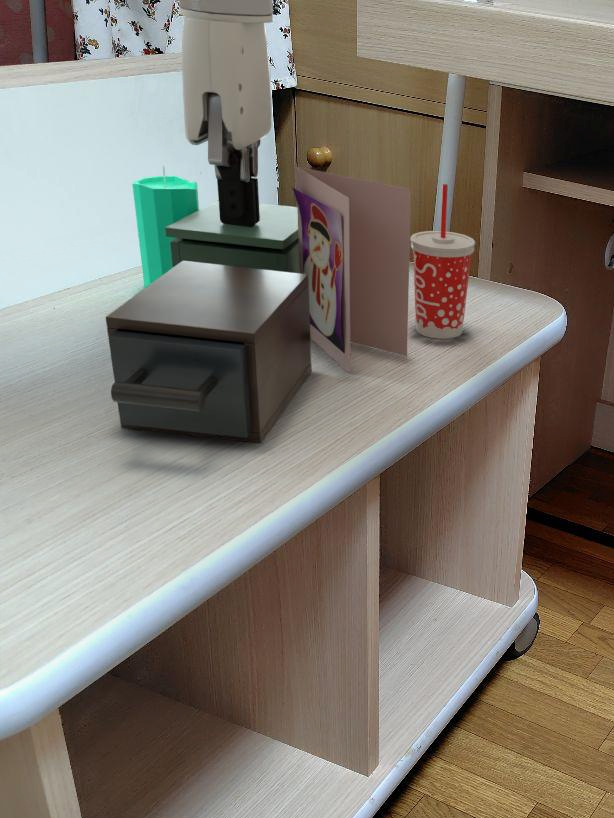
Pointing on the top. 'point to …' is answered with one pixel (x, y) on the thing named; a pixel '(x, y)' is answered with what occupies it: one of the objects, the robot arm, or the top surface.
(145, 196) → the candle
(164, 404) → the drawer
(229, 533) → the top surface
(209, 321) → the cabinet
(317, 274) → the greeting card
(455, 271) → the beverage cup
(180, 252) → the chest
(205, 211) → the chest lid
